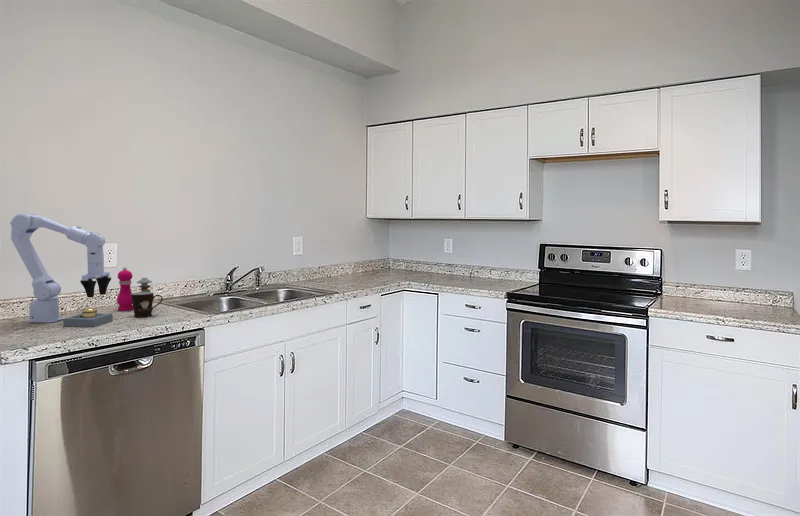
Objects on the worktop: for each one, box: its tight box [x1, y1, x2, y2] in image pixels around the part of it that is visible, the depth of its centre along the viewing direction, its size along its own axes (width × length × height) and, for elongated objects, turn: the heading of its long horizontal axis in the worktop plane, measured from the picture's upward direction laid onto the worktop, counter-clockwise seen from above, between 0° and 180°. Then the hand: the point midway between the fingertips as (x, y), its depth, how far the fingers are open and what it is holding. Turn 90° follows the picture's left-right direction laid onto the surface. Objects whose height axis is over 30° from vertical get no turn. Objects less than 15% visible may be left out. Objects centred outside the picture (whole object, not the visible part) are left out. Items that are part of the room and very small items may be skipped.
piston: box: [81, 307, 98, 318], centre depth 194 cm, size 5×5×6 cm
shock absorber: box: [136, 277, 153, 292], centre depth 224 cm, size 6×6×15 cm
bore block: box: [62, 312, 114, 328], centre depth 194 cm, size 12×12×3 cm
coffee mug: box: [131, 291, 164, 318], centre depth 211 cm, size 12×9×10 cm
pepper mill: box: [116, 266, 134, 312], centre depth 224 cm, size 7×7×20 cm
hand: (96, 295), depth 202 cm, fingers open, 7 cm apart
